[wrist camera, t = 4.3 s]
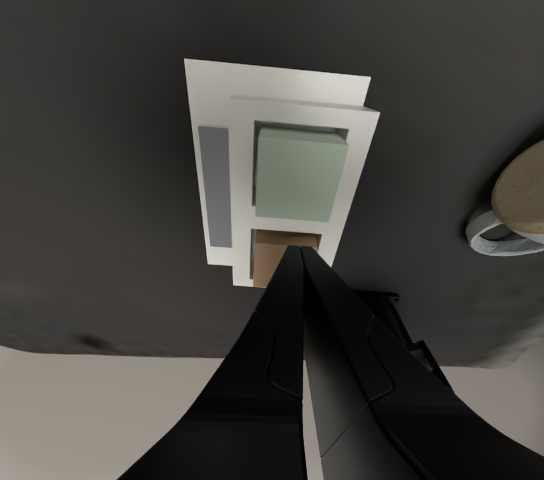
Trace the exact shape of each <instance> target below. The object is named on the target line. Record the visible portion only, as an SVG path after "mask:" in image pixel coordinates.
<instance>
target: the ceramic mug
mask: <svg viewBox="0 0 544 480" xmlns="http://www.w3.org/2000/svg"><path fill="white" fill-rule="evenodd" d="M491 205H492V208H493V209H491V210H490V211H487V212H485V213H483V214H481V215H479V216H478V217H477V218H476V219H474V220H473V221H472V222H470V223H469V225H468V226H467V228H466V236H467V239H468V242H469V245H470V246H471V247H472V248H473V249H474V250H475V251H477V252H480V253H482V254H486V255H493V256H512V255H522V254H527V253H535V252H539V251H543V250H544V140H542V141H540V142H538V143H536V144H534V145H533V146H531V147H529V148H528V149H526V150H525V151H524V152H522V153H521V154H520V155H519V156H517V157H516V158H515V159H514V160H513V161H512V162H511V163H510V164H509V165H508V166H507V167H506V168H505V169H504V170H503V172H502V173H501V175H500V176H499V178H498V180H497V181H496V183H495V186H494V188H493V191H492V195H491ZM499 224H505V225H506V226H507V227H508V228H509V229H511V230H513V231H514V232H516V233H517V234H519V235H521V236H523V238H518V239H513V240H505V241H489V240H486V239H484V238H482V237H480V236H479V235H480V234H481V233H483V232H485V231H486V230H488V229H490V228H493V227H495V226H497V225H499Z"/></svg>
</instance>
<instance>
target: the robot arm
mask: <svg viewBox="0 0 544 480" xmlns="http://www.w3.org/2000/svg"><path fill="white" fill-rule="evenodd" d="M400 300H401V298H400V296H399V295H398V294H388V293H374V292H360V291H352V290H351V289H350V288H349V287H348V286H347V285H346V283H345V282H344V281H343V280H342V279H341V278H340V277H339V276H338V275H337V274H336V273H335V271H334V270H333V269H332V268H331V267H330V266H329V265H328V264H327V263H326V262H325V260H324V259H323V258H322V257H321V256H320V255H319V254H318V253H317V252H316V251H315V250H314V248H313V247H311V246H304V245H301V246H300V247H299V246H298V245H288V246H287V248H286V249H285V251H284V253H283V255H282V257H281V259H280V261H279V263H278V265H277V267H276V269H275V271H274V273H273V275H272V277H271V279H270V281H269V282H268V284H267V286H266V288H265V290H264V292H263V294H262V296H261V298H260V300H259V302H258V304H257V306H256V308H255V311H253V313H252V315H251V317H250V319H249V321H248V323H247V324H246V326H245V328H244V330H243V332H242V333H241V335H240V337H239V338H238V340H237V341H236V343H235V344H234V346H233V347H232V349H231V350H230V352H229V353H228V355H227V356H226V358H225V359H224V360H223V362H222V363H221V365H220V366H219V368H218V369H217V370H216V372H215V373H214V375H213V376H212V378H211V379H210V380H209V382H208V383H207V385H206V386H205V388H204V389H203V391H202V392H201V393H200V395H199V396H198V397H197V399H196V400H195V401H194V403H193V404H192V405H191V407H190V408H189V409H188V410H187V412H186V413H185V414H184V415H183V417H182V418H181V419H180V420H179V421H178V422H177V423H176V425H174V427H173V428H172V429H171V430H170V431H169V432H168V433H166V434H165V435H164V436H163V437H162V438H161V439H160V440H159V441H158V442H157V443H156V444H155V445H153V446H152V447H151V449H149V450H148V451H147V452H146V453H145V454H144V455H143V456H142V457H141V458H140V459H138V460H137V461H136V462H135V463H134V464H133V465H132V466H131V467H130V468H129V469H128V470H127V471H126V472H125V473H123V474H122V475H121V476H120V477H119V478H118V479H117V480H308V479H307V469H306V459H305V450H304V440H303V419H302V418H303V417H302V407H303V405H302V400H303V347H304V354H305V360H306V366H307V373H308V379H309V386H310V393H311V399H312V405H313V412H314V418H315V425H316V431H317V438H318V444H319V451H320V457H321V464H322V471H323V477H324V480H544V456H541V455H540V454H538V453H536V452H534V451H532V450H530V449H529V448H527V447H525V446H523V445H521V444H519V443H517V442H516V441H514V440H512V439H510V438H509V437H507V436H506V435H504V434H503V433H501V432H500V431H498V430H497V429H495V428H494V427H493V426H491V425H490V424H489V423H487V422H486V421H485V420H484V419H482V418H481V417H480V416H478V415H477V414H476V413H475V412H474V411H473V410H472V409H471V408H469V407H468V406H467V405H466V404H465V403H464V402H463V401H462V400H461V399H459V398H458V397H457V396H456V395H455V393H454V391H453V390H452V388H451V386H450V384H449V382H448V381H447V379H446V377H445V376H444V374H443V372H442V371H441V369H440V367H439V366H438V364H437V362H436V361H435V359H434V357H433V356H432V354H431V352H430V351H429V349H428V347H427V346H426V344H425V342H424V341H423V340H422V341H417V343H413V342H412V340H411V338H410V336H409V334H408V332H407V330H406V328H405V326H404V324H403V322H402V320H401V318H400V316H399V314H398V312H397V310H396V306H397V305H398V303H399V301H400Z"/></svg>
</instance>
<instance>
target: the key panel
mask: <svg viewBox="0 0 544 480" xmlns="http://www.w3.org/2000/svg"><path fill="white" fill-rule="evenodd" d="M184 63H185V72H186V80H187V89H188V97H189V106H190V114H191V123H192V132H193V140H194V149H195V157H196V166H197V174H198V183H199V192H200V200H201V209H202V217H203V226H204V234H205V243H206V251H207V260H208V264H215V265H229V266H233V285H236V286H250V287H253V275H254V252H255V239H256V231H257V229H264V230H277V231H289V232H302V233H315V237H316V241H317V245H318V250H317V253H318V254H319V255H320V256H321V257H322V258H323V259H324V260H325V262H326V263H327V264H328V265H329V266H330V267H332V263H333V260H334V257H335V254H336V251H337V248H338V244H339V241H340V238H341V235H342V232H343V229H344V226H345V222H346V219H347V216H348V213H349V210H350V207H351V203H352V200H353V197H354V194H355V191H356V188H357V185H358V181H359V178H360V175H361V172H362V169H363V166H364V162H365V159H366V156H367V153H368V150H369V147H370V144H371V140H372V137H373V134H374V131H375V128H376V125H377V121H378V118H379V115H380V112H377V111H375V110H372V109H369V108H366V107H364V106H363V104H364V101H365V97H366V94H367V90H368V86H369V83H370V79H371V77H365V76H355V75H345V74H335V73H325V72H315V71H304V70H294V69H284V68H274V67H264V66H254V65H244V64H234V63H224V62H214V61H204V60H194V59H184ZM262 126H271V127H282V128H293V129H304V130H315V131H326V132H336V133H337V134H338V135H339V136H340V137H341V138H342V139H343V140H345V141H346V142H347V143H348V144H349V148H348V151H347V155H346V159H345V163H344V166H343V170H342V174H341V178H340V182H339V185H338V189H337V193H336V197H335V200H334V204H333V208H332V212H331V215H330V219H329V222H318V221H306V220H293V219H281V218H268V217H256V216H255V210H256V186H257V162H258V138H259V134H260V131H261V128H262ZM264 288H266V287H264Z"/></svg>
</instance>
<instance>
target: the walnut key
mask: <svg viewBox="0 0 544 480" xmlns="http://www.w3.org/2000/svg"><path fill="white" fill-rule="evenodd" d="M288 245H298V246H299V247H300V246H301V245H304V246H311V247H313V248H314V250H315V251H316V252H317V250H318V245H317V241H316V237H315V233H302V232H289V231H277V230H264V229H257V231H256V239H255V252H254V275H253V287H266V286H267V284H268V282H269V281H270V279H271V277H272V275H273V273H274V271H275V269H276V267H277V265H278V263H279V261H280V259H281V257H282V255H283V253H284V251H285V249H286V248H287V246H288Z"/></svg>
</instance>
